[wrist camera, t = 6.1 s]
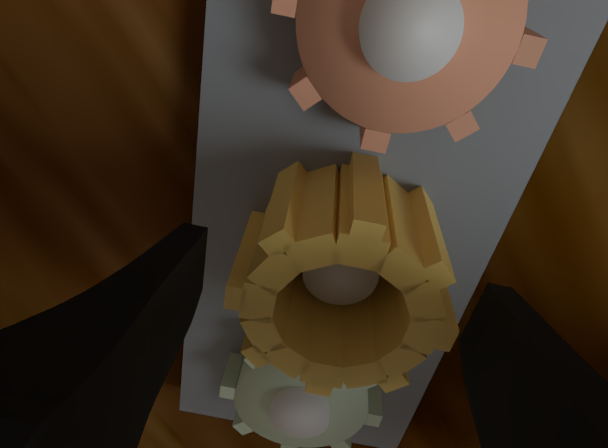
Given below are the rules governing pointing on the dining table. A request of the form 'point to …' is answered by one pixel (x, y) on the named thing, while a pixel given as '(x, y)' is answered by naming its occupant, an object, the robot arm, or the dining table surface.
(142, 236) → the dining table surface
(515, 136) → the gear board
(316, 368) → the loose gear
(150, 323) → the robot arm
